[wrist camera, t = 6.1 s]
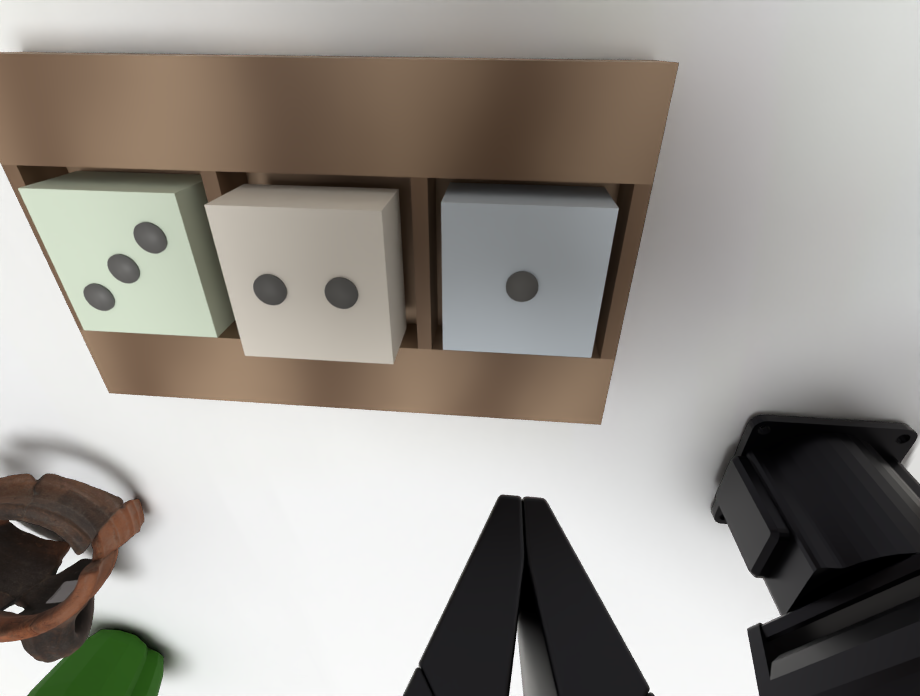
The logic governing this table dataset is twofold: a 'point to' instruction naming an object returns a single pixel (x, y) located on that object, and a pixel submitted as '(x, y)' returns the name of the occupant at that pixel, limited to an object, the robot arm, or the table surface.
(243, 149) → the tile board
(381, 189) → the tile two
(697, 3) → the table surface
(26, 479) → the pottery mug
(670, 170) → the table surface
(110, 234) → the tile three
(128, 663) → the bell pepper
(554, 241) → the tile one
